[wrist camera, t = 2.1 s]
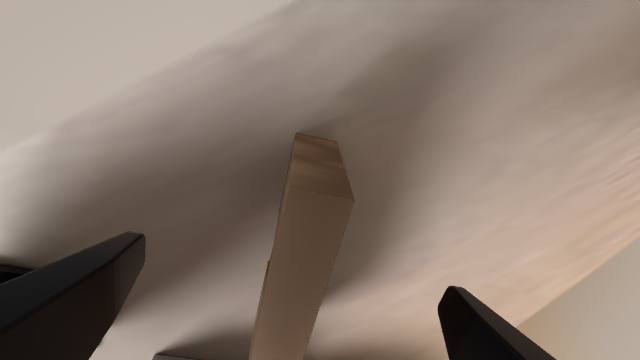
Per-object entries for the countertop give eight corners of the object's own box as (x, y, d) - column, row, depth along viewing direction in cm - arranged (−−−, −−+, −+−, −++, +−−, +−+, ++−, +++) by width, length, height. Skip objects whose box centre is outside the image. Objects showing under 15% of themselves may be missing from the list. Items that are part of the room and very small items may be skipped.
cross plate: (256, 314, 19) (236, 423, 14) (296, 133, 14) (289, 187, 9) (287, 319, 19) (280, 427, 14) (336, 142, 15) (354, 200, 9)
